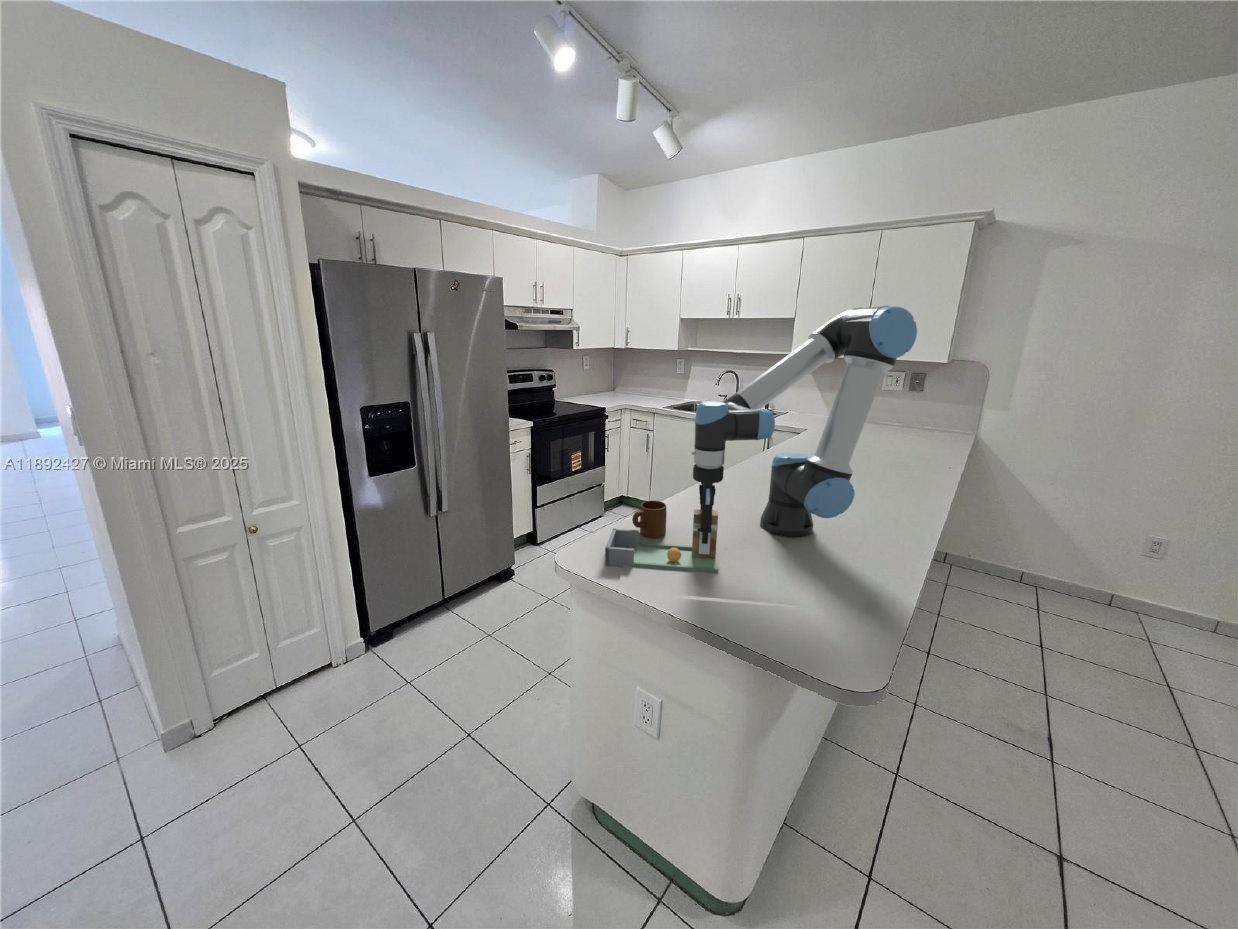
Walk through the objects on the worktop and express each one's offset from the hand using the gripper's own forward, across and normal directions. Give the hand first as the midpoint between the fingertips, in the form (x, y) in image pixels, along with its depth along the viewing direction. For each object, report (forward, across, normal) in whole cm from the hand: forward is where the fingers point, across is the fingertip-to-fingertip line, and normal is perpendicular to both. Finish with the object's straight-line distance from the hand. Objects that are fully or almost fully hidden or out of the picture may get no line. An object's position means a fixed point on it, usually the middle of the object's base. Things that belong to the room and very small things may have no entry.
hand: (703, 549), depth 122 cm
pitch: (+2, +3, -11) cm, 11 cm away
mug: (+2, -10, -16) cm, 19 cm away
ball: (0, +5, -8) cm, 9 cm away
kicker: (+2, 0, 0) cm, 2 cm away
